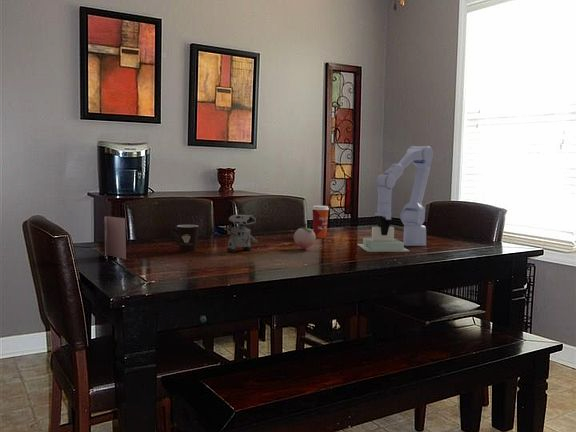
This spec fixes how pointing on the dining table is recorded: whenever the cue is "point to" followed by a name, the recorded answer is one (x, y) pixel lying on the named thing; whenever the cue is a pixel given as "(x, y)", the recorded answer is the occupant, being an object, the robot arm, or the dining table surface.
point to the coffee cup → (320, 221)
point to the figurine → (240, 232)
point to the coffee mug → (186, 237)
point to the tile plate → (379, 237)
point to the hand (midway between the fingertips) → (383, 234)
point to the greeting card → (115, 237)
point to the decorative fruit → (304, 237)
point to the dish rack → (383, 246)
